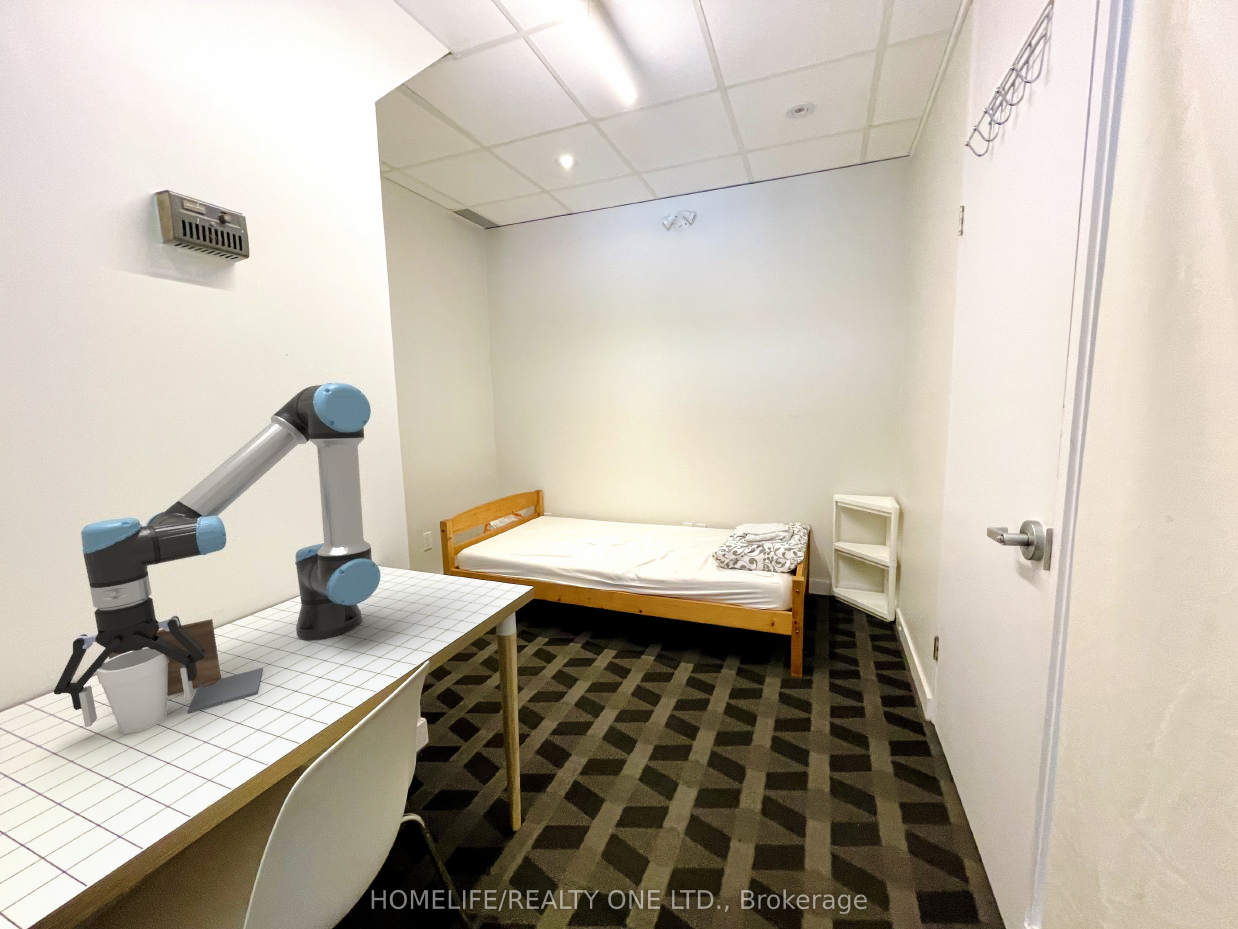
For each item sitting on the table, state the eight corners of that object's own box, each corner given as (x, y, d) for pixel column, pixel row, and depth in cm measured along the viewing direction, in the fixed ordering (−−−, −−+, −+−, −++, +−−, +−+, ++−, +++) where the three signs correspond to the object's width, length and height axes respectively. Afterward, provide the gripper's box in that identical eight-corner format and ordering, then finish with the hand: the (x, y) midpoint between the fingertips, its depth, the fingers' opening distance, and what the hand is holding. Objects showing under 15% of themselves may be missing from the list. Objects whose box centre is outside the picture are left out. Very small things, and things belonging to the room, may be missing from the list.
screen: (123, 700, 98) (112, 636, 96) (222, 675, 106) (213, 615, 105) (114, 713, 94) (102, 646, 92) (218, 685, 102) (209, 624, 101)
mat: (199, 687, 102) (199, 684, 102) (262, 670, 108) (262, 667, 108) (187, 713, 93) (187, 710, 93) (257, 693, 99) (257, 691, 99)
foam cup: (189, 711, 93) (179, 649, 92) (128, 743, 85) (115, 675, 83) (159, 703, 97) (148, 643, 95) (97, 733, 88) (85, 668, 86)
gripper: (10, 629, 78) (34, 747, 81) (207, 592, 91) (222, 695, 94) (33, 613, 84) (55, 723, 87) (214, 581, 97) (228, 678, 100)
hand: (142, 709), depth 90 cm, fingers open, 13 cm apart
